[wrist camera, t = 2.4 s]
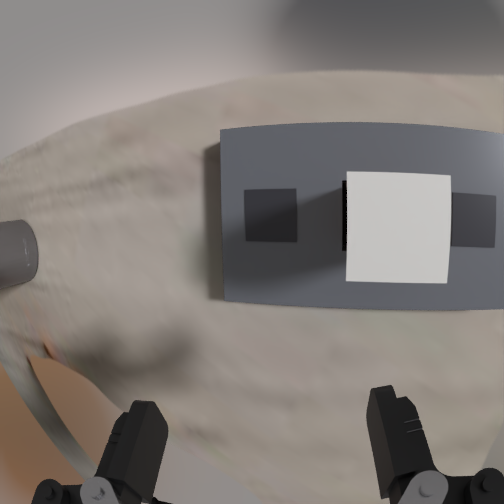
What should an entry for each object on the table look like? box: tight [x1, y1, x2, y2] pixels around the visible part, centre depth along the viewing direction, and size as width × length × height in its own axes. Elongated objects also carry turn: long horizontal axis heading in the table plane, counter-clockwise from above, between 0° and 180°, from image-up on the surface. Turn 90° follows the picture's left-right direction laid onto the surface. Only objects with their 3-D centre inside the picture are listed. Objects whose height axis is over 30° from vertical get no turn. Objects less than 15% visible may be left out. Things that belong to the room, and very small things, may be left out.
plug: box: [346, 171, 451, 283], centre depth 18 cm, size 4×4×14 cm
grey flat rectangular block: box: [220, 122, 504, 310], centre depth 24 cm, size 24×14×3 cm, turn 92°
